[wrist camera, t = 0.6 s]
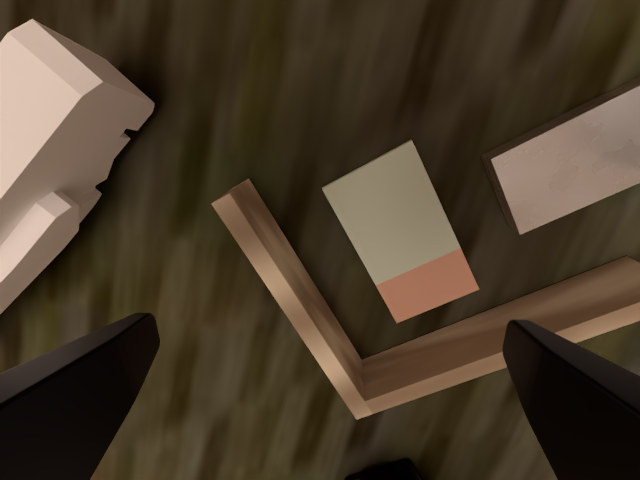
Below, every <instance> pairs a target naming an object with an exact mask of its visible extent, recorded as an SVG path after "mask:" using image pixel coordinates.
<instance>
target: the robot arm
mask: <svg viewBox="0 0 640 480" xmlns="http://www.w3.org/2000/svg"><path fill="white" fill-rule="evenodd" d="M159 345H160V338H159V333H158V329H157V325H156V320H155V317H154V315H153V314H151V313H135V314H133V315H130V316H128V317H126V318H124V319H121V320H119V321H117V322H115V323H112V324H110V325H108V326H106V327H103V328H101V329H99V330H97V331H94V332H92V333H90V334H88V335H85V336H83V337H81V338H79V339H76V340H74V341H72V342H70V343H67V344H65V345H63V346H61V347H58V348H56V349H54V350H52V351H49V352H47V353H45V354H43V355H40V356H38V357H36V358H34V359H31V360H29V361H27V362H25V363H23V364H20V365H18V366H16V367H14V368H11V369H9V370H7V371H5V372H2V373H0V480H90V478H91V477H92V475H93V473H94V471H95V470H96V468H97V466H98V464H99V463H100V461H101V459H102V457H103V456H104V454H105V452H106V451H107V449H108V447H109V445H110V444H111V442H112V440H113V438H114V437H115V435H116V433H117V431H118V430H119V428H120V426H121V425H122V423H123V421H124V419H125V418H126V416H127V414H128V412H129V411H130V409H131V407H132V405H133V403H134V401H135V399H136V397H137V395H138V393H139V391H140V389H141V387H142V385H143V382H144V380H145V378H146V376H147V373H148V371H149V369H150V367H151V365H152V362H153V360H154V358H155V356H156V354H157V351H158V349H159ZM502 352H503V357H504V360H505V363H506V365H507V368H508V370H509V373H510V376H511V378H512V381H513V384H514V386H515V389H516V392H517V394H518V397H519V400H520V402H521V405H522V407H523V410H524V412H525V415H526V417H527V419H528V421H529V423H530V425H531V427H532V429H533V431H534V433H535V435H536V437H537V439H538V441H539V443H540V445H541V447H542V449H543V451H544V453H545V455H546V457H547V459H548V461H549V463H550V465H551V467H552V469H553V471H554V473H555V475H556V477H557V479H558V480H640V376H638V375H636V374H634V373H632V372H630V371H628V370H626V369H625V368H623V367H621V366H619V365H617V364H615V363H613V362H611V361H609V360H607V359H605V358H603V357H601V356H599V355H597V354H595V353H593V352H591V351H589V350H587V349H585V348H583V347H581V346H579V345H577V344H575V343H573V342H571V341H569V340H567V339H565V338H563V337H561V336H559V335H557V334H555V333H553V332H551V331H549V330H547V329H545V328H543V327H541V326H539V325H537V324H535V323H534V322H532V321H529V320H526V319H512V320H510V321H509V322H508V323H507V327H506V332H505V337H504V342H503V347H502ZM345 480H423V478H422V477H421V475H420V474H419V472H418V471H417V469H416V467H415V466H414V464H413V463H412V462H411V461H410V460H403V461H400V462H396V463H393V464H390V465H387V466H383V467H380V468H377V469H374V470H371V471H367V472H364V473H361V474H358V475H354V476H351V477H348V478H346V479H345Z"/></svg>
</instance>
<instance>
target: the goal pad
mask: <svg viewBox="0 0 640 480" xmlns="http://www.w3.org/2000/svg"><path fill="white" fill-rule="evenodd" d="M322 190H323V192H324V194H325V196H326V197H327V199H328V201H329V203H330V205H331V206H332V208H333V210H334V212H335V214H336V215H337V217H338V219H339V221H340V222H341V224H342V226H343V228H344V230H345V231H346V233H347V235H348V237H349V239H350V240H351V242H352V244H353V246H354V248H355V249H356V251H357V253H358V255H359V256H360V258H361V260H362V262H363V264H364V265H365V267H366V269H367V271H368V273H369V274H370V276H371V278H372V280H373V282H374V283H375V285H376V287H377V289H378V291H379V292H380V294H381V296H382V298H383V299H384V301H385V303H386V305H387V307H388V308H389V310H390V312H391V314H392V316H393V317H394V319H395V321H396V323H399V322H401V321H404V320H406V319H408V318H411V317H413V316H416V315H418V314H421V313H423V312H426V311H428V310H430V309H433V308H435V307H438V306H440V305H443V304H445V303H448V302H450V301H452V300H455V299H457V298H460V297H462V296H465V295H467V294H470V293H472V292H474V291H477V290H479V287H478V285H477V283H476V281H475V279H474V276H473V274H472V272H471V270H470V267H469V265H468V263H467V261H466V259H465V256H464V254H463V252H462V250H461V248H460V245H459V243H458V241H457V239H456V236H455V234H454V232H453V230H452V228H451V225H450V223H449V221H448V219H447V216H446V214H445V212H444V210H443V208H442V205H441V203H440V201H439V199H438V197H437V194H436V192H435V190H434V188H433V185H432V183H431V181H430V179H429V177H428V174H427V172H426V170H425V168H424V166H423V163H422V161H421V159H420V157H419V154H418V152H417V150H416V148H415V146H414V143H413V141H412V140H409V141H408V142H406V143H404V144H402V145H400V146H398V147H396V148H394V149H393V150H391V151H389V152H387V153H385V154H383V155H381V156H380V157H378V158H376V159H374V160H372V161H370V162H368V163H367V164H365V165H363V166H361V167H359V168H357V169H355V170H353V171H352V172H350V173H348V174H346V175H344V176H342V177H340V178H339V179H337V180H335V181H333V182H331V183H329V184H327V185H326V186H324V187H322Z"/></svg>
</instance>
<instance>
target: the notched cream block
mask: <svg viewBox="0 0 640 480" xmlns="http://www.w3.org/2000/svg"><path fill="white" fill-rule="evenodd" d="M154 105H155V103H154V102H153V101H152V100H150V99H149V98H148V97H147V96H146V95H145V94H144V93H143V92H142V91H140V90H139V89H138V88H137V87H136V86H135V85H134V84H133V83H132V82H130V81H129V80H128V79H127V78H126V77H125V76H124V75H123V74H121V73H120V72H119V71H118V70H117V69H116V68H115V67H114V66H113V65H111V64H110V63H109V62H108V61H107V60H106V59H104V58H103V57H101V56H99V55H97V54H95V53H93V52H92V51H90V50H88V49H86V48H84V47H82V46H81V45H79V44H77V43H75V42H73V41H71V40H70V39H68V38H66V37H64V36H62V35H61V34H59V33H57V32H55V31H53V30H51V29H50V28H48V27H46V26H44V25H42V24H40V23H39V22H37V21H35V20H33V19H31V20H30V21H28V22H26V23H24V24H22V25H21V26H19V27H17V28H15V29H13V30H12V31H10V32H8V33H7V34H6V36H5V37H4V38H3V40H2V41H1V42H0V314H1V313H2V312H3V311H4V310H5V309H6V308H7V307H8V306H9V305H10V304H11V303H12V302H13V301H14V300H15V299H16V298H17V297H18V296H19V294H20V293H21V292H22V291H23V290H24V289H25V288H26V287H27V286H28V285H29V284H30V283H31V282H32V281H33V280H34V279H35V278H36V277H37V276H38V275H39V274H40V273H41V272H42V271H43V270H44V269H45V268H46V266H47V265H48V264H49V263H50V262H51V261H52V260H53V259H54V258H55V257H56V256H57V255H58V254H59V253H60V252H61V251H62V250H63V249H64V248H65V247H66V245H67V244H68V243H69V242H70V241H71V239H72V238H73V237H74V236H75V235H76V233H77V232H78V231H79V224H80V222H81V221H82V220H83V219H84V218H85V216H86V215H87V214H88V213H89V212H90V210H91V209H92V208H93V207H94V205H95V204H96V202H97V201H98V200H99V198H100V197H101V195H102V193H101V192H99V191H98V190H97V189H96V188H95V187H96V185H98V184H99V183H101V182H103V181H104V180H106V179H107V177H108V174H109V172H110V169H111V166H112V163H113V161H114V158H115V157H116V156H117V155H118V154H119V152H120V151H121V150H122V149H123V148H124V146H125V145H126V144H127V143H128V142H129V140H130V139H131V138H130V137H128V136H127V135H126V134H125V133H124V131H125V130H126V129H131V130H136V131H138V129H139V128H140V127H141V126H142V125H143V123H144V122H145V121H146V120H147V119H148V117H149V116H150V115H151V114H152V113H153V109H154Z"/></svg>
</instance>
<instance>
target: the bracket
mask: <svg viewBox="0 0 640 480" xmlns="http://www.w3.org/2000/svg"><path fill="white" fill-rule="evenodd" d="M481 158H482V161H483V163H484V166H485V168H486V171H487V173H488V176H489V178H490V181H491V184H492V186H493V189H494V191H495V194H496V196H497V199H498V201H499V204H500V206H501V209H502V211H503V214H504V216H505V219H506V222H507V224H508V226H509V227H510V228H512V229H513V230H514V231H516V232H517V233H518V234H520V235H521V234H523V233H525V232H528V231H530V230H532V229H535V228H537V227H539V226H541V225H544V224H546V223H548V222H551V221H553V220H555V219H558V218H560V217H562V216H565V215H567V214H569V213H571V212H574V211H576V210H578V209H581V208H583V207H585V206H588V205H590V204H592V203H594V202H597V201H599V200H601V199H604V198H606V197H608V196H611V195H613V194H615V193H617V192H620V191H622V190H624V189H627V188H629V187H631V186H634V185H636V184H638V183H640V76H638V77H636V78H634V79H632V80H630V81H628V82H626V83H624V84H622V85H620V86H618V87H616V88H614V89H612V90H610V91H608V92H606V93H604V94H602V95H600V96H598V97H596V98H594V99H592V100H590V101H588V102H586V103H584V104H582V105H580V106H578V107H576V108H574V109H572V110H570V111H568V112H566V113H565V114H563V115H561V116H559V117H557V118H555V119H553V120H551V121H549V122H547V123H545V124H543V125H541V126H539V127H537V128H535V129H533V130H531V131H529V132H527V133H525V134H523V135H521V136H519V137H517V138H515V139H513V140H511V141H509V142H507V143H505V144H503V145H501V146H499V147H497V148H495V149H493V150H491V151H489V152H487V153H485V154H483V155H481Z"/></svg>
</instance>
